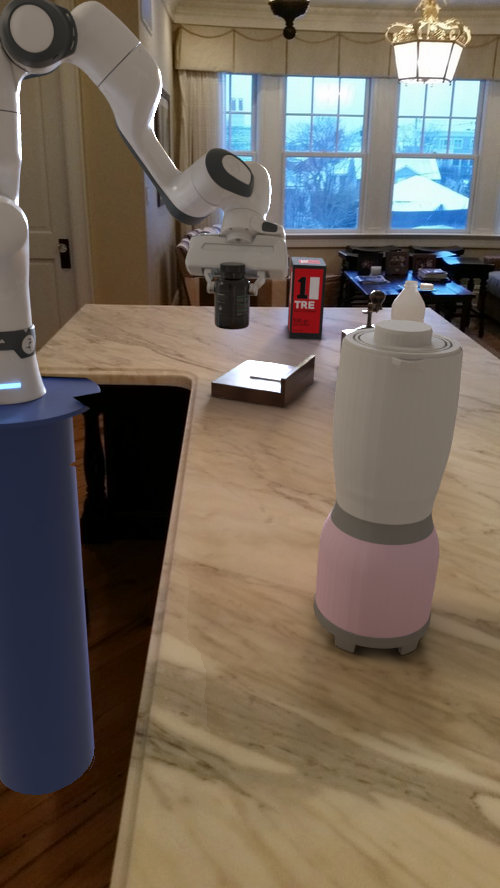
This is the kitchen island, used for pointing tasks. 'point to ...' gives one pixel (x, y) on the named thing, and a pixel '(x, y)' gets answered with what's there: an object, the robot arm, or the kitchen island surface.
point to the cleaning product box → (306, 297)
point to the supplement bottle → (232, 297)
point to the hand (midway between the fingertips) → (231, 292)
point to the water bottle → (410, 303)
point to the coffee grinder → (369, 311)
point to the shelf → (265, 382)
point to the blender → (386, 484)
